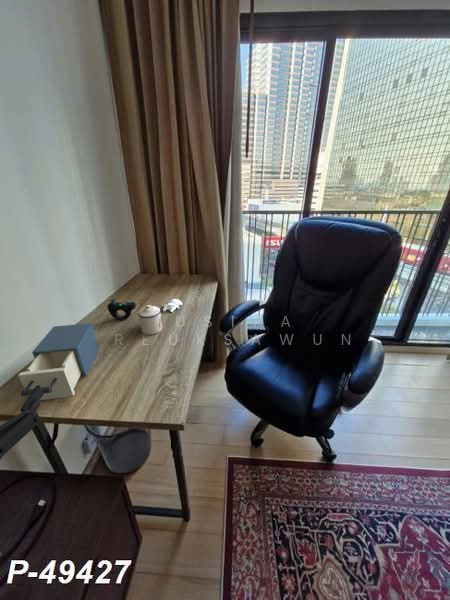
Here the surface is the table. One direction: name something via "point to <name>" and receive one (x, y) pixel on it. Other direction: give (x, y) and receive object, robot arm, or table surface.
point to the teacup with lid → (150, 319)
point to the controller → (116, 306)
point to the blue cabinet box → (71, 343)
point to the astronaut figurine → (172, 305)
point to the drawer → (52, 375)
